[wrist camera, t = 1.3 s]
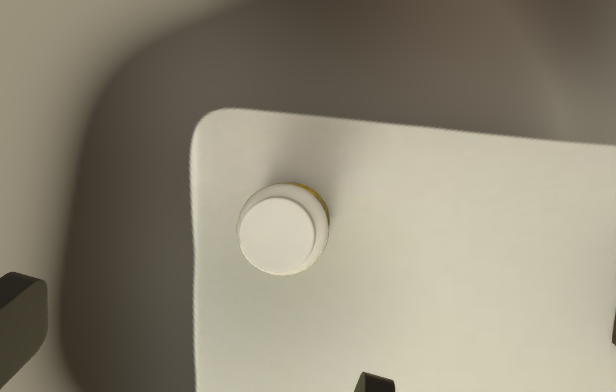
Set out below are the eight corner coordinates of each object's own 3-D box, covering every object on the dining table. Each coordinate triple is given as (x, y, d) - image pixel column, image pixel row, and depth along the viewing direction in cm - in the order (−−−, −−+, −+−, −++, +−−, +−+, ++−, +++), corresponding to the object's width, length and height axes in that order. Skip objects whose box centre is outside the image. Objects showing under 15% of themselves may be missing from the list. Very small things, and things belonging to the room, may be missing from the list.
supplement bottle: (345, 218, 32) (350, 237, 22) (293, 270, 32) (276, 311, 22) (292, 166, 32) (275, 162, 22) (241, 218, 32) (202, 237, 22)
